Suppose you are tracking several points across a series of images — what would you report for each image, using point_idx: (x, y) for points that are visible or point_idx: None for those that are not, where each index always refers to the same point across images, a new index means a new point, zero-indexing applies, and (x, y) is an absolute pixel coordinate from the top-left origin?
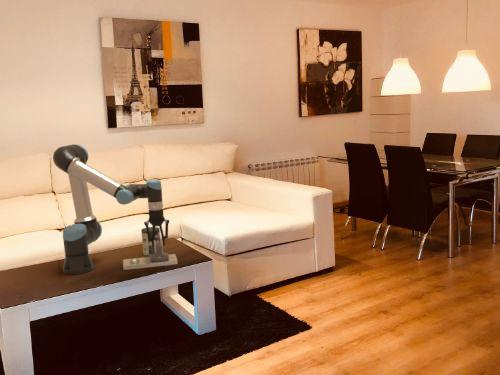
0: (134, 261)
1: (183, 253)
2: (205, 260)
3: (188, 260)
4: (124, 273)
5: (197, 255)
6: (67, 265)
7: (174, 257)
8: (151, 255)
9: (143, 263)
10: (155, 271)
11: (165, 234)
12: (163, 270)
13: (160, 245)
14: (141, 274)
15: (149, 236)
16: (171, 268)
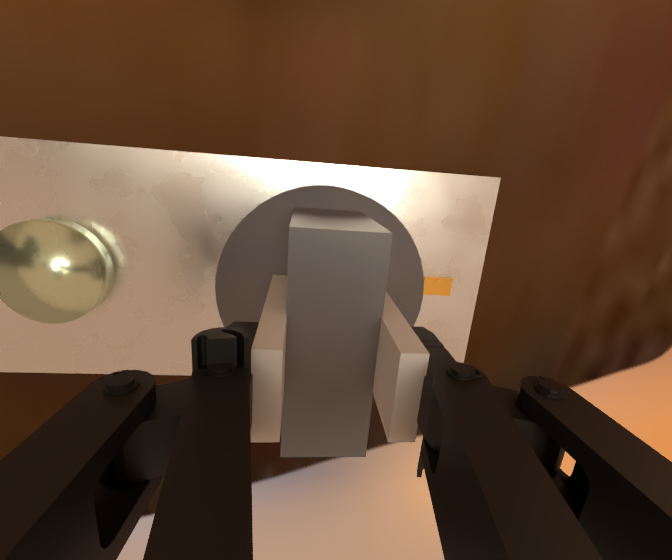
0: (53, 320)
1: (594, 64)
2: (653, 357)
3: (549, 308)
4: (15, 431)
5: (668, 201)
6: None
7: (461, 290)
8: (236, 274)
9: (159, 356)
10: (262, 461)
11: (563, 442)
12: (320, 459)
13: (352, 428)
14: (158, 487)
15: (106, 546)
16: (381, 438)
